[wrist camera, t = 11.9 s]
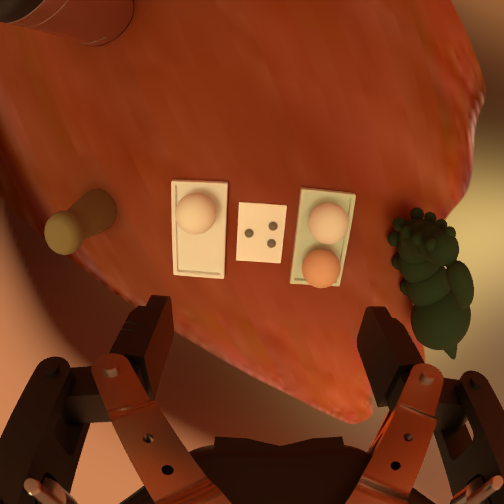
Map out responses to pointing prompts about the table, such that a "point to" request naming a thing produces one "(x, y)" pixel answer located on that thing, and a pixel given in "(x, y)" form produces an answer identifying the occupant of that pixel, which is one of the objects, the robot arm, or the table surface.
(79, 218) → the olive green waisted cylinder
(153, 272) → the table surface
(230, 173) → the table surface
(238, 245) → the card
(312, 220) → the ball
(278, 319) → the table surface
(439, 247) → the toy figurine
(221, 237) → the egg tray
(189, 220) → the ball
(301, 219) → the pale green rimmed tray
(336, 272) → the ball
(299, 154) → the table surface
